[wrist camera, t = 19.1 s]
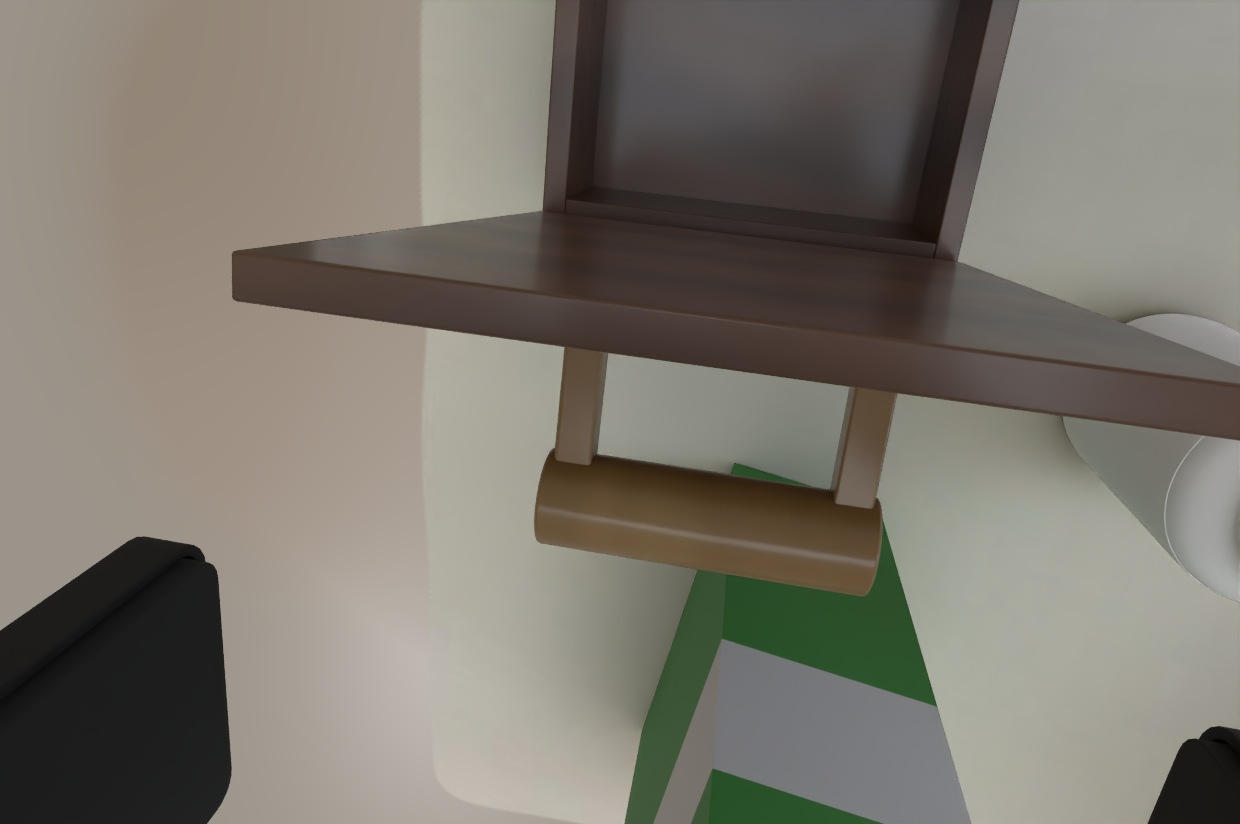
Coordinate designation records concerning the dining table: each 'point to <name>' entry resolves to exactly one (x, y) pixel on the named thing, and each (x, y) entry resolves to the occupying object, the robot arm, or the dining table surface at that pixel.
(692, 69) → the chest
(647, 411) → the dining table surface
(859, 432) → the chest lid
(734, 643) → the hardback book
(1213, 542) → the pill bottle
